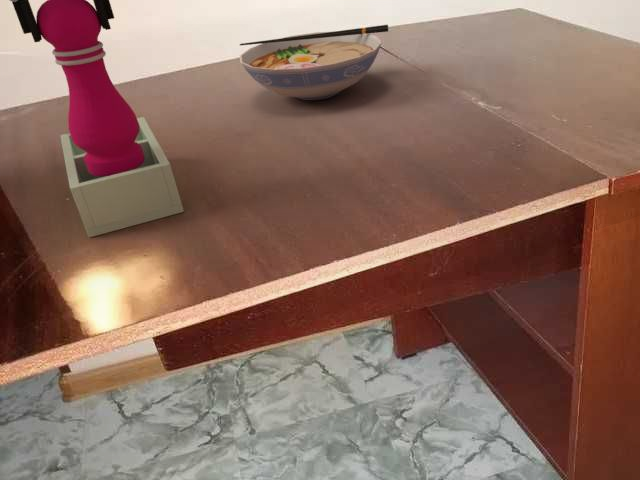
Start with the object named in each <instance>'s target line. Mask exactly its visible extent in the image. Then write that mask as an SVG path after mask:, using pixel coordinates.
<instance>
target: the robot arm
mask: <svg viewBox="0 0 640 480" xmlns="http://www.w3.org/2000/svg"><path fill="white" fill-rule="evenodd" d="M9 1H10V2H11V3H12V7H13V8H14V11H15V14H16V17H17V19H18V21H19V24H20V27H21V30H22V33H23V34H24V35H27V34H31V36H32V39H33V42H34V43H39V42H41V41H42V40H43V39H42V38H43V37H42V36H41V34H40V32H39V30H38V26H37V21H36V18H35V15H34V12H33V9H32V6H31V3H30V1H29V0H9ZM92 1H93V4H94V8H95V10H96V11H97V13H98V15H99V18H100V21H101V28H102V29H103V30H105V31H107V30H112V28H111V24H110V22H109V21H110V20H113V19H115V15H114V12H113V9H112V4H111V2H110V1H111V0H92Z"/></svg>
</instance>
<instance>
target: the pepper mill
mask: <svg viewBox="0 0 640 480" xmlns="http://www.w3.org/2000/svg"><path fill="white" fill-rule="evenodd" d="M35 20H36V23H37V26H38V30H39V32H40V34H41V37H42V38H43V40H44V41H46V42H47V43H49V44H50V45H51V46H52V47H53V48H54V49H53V50H52V51H51V54H52V55H53V56H54V58H55V60H54V62H55V64H57V65H58V66H61V68H62V71H63V73H64V75H65V79H66V82H67V86H68V94H69V95H68V96H69V106H68V117H67V120H68V121H67V122H68V123H67V124H68V125H67V126H68V131H69V133H70V135H71V138H72V141H73V143H74V144H75V145H76V146H78V147H79V148H80V149H82V150H84V151H85V152H87V154H86V155H85V156H84V161H85V163H86V166H87V169H88V172H89V173H90V174H92V175H95V176H110V175H114V174H118V173H122V172H126V171H131V170H134V169H136V168H137V167H139V166H141V165H142V164H143V163H144V161H145V157H144V153H143V150H142V147H141V145H140V144H138V143H136V142H135V139H136V137H137V135H138V133H139V130H140V126H139V123H138V120H137V118H138V117H137V115H136V113H135V112H134V110H133V108H132V107H131V106H130V104H129V103H128V102H127V101H126V100H125V98H124V97H123V95H121V93H120V92H119V91H118V89H117V88H116V87H115V84H114V83H113V82H112V80H111V77H110V75H109V72H108V71H107V68H106V64H105V60H104V57H106V54H107V52H106V51H105V50H104V44H103V42H102V41H100V40H99V35H100V33H101V31H102V26H101V21H100V18H99V15H98V13H97V11H96V8H95V6H93V5H92V4H91V3H90V2H89V1H88V0H46V1H44V2H43V3H42V4H41V5H40V6H39V8H38V10H37V11H36V18H35Z"/></svg>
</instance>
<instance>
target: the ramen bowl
mask: <svg viewBox="0 0 640 480" xmlns="http://www.w3.org/2000/svg"><path fill="white" fill-rule="evenodd" d="M388 32H389V24H381V25H375V26H367V27H357V28H351V29H343V30H333V31H317V32H311V33H302V34H296V35H289V36H285V37H280V38H274V39H267V40H259V41H251V42H250V41H249V42H244V43H239V46H249V45H255V46H252V47H250V48H248V49H246V51H244V52H243V53H241V54H240V55H239V62H240V64H241V65H242V67H243V68H244V70H245V71H246V72H247V73H248V74H249V76H251V78H252V79H253V80H254V81H256V83H258V84H259V85H260V86H262V87H263V88H266V89H268V90H269V91H272V92H274V93H276V94H278V95H281V96H286V97H292V98H296V99H298V100H302V101H319V100H325V99H328V98H332V97H335V96H336V95H339V94H340V92H342V91H343V90H345V89H347V88H349V87H352V86H354V85H355V84H356V83H358V82H359V81H360V80H361V79H363V78H364V77H365V75H367V73H368V72H369V70H370V68H371V67H372V65H373V64H374V62H375V60H376V58H377V56H378V54H379V52H380V49H381V45H382V41H381V39H380V38H379V37H378V36H377V35H374V34H376V33H377V34H379V33H388Z"/></svg>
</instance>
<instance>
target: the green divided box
mask: <svg viewBox="0 0 640 480" xmlns="http://www.w3.org/2000/svg"><path fill="white" fill-rule="evenodd" d="M136 118H137V120H138V123H139V126H140V130H139V133H138V135H137V137H136V139H135V142H136V143H138V144H140V145H141V147H142V150H143V153H144V157H145V161H144V163H143V164H142V165H141V166H139V167H137V168H136V169H134V170H131V171H126V172H122V173H118V174H114V175H110V176H95V175H92V174H90V173H89V172H88V169H87V166H86V163H85V161H84V156H85V155H86V154H87V152H85V151H84V150H82V149H80V148H79V147H78V146H76V145H75V144H74V143H73V141H72V138H71V135H70V132H69V133H64V134H60V137H59V138H60V142H61V147H62V153H63V158H64V163H65V169H66V175H67V181H68V185H69V190H70V193H71V195H72V197H73V201H74V202H75V206H76V208H77V211H78V214H79V216H80V219H81V221H82V224H83V227H84V229H85V232H86V235H87V237H88V239H89V238H90V239H91V238H93V237H97V236H101V235H104V234H108V233H111V232H115V231H119V230H122V229H126V228H129V227H134V226H136V225H141V224H145V223H148V222H152V221H155V220H158V219H162V218H166V217H169V216H173V215H177V214H182V213H184V212H185V210H184V207H183V204H182V200H181V196H180V193H179V189H178V187H177V183H176V180H175V176H174V173H173V169H172V166H171V163H170V162H169V160H168V158H167V155H165V152H164V151H163V149H162V147H161V145H160V144H159V141H158V140H157V138H156V136H155V134H154V133H153V130H152V129H151V127H150V125H149V123H148V121H147V120H146V118H145V117H144V116H141V117H136Z"/></svg>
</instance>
